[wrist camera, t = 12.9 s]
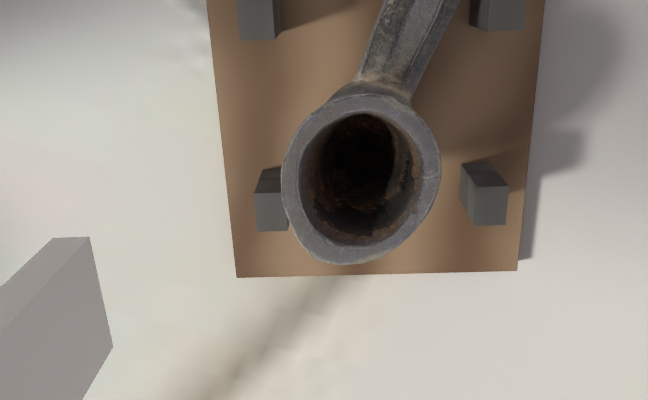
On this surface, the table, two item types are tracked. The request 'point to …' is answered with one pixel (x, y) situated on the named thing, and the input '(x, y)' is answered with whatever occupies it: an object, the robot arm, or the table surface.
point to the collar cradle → (428, 101)
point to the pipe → (369, 146)
